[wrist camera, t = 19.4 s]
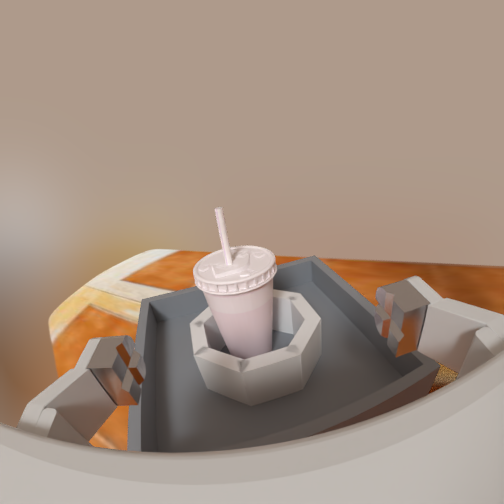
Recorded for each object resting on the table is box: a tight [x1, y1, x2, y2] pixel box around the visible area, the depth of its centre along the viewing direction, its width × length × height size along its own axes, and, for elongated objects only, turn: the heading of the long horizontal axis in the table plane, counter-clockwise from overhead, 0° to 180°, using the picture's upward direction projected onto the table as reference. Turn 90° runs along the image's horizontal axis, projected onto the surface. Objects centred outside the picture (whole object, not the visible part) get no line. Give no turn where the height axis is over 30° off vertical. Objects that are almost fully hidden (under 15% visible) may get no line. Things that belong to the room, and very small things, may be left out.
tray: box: [128, 256, 440, 453], centre depth 24 cm, size 22×22×5 cm
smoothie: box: [193, 207, 277, 359], centre depth 22 cm, size 6×6×14 cm
